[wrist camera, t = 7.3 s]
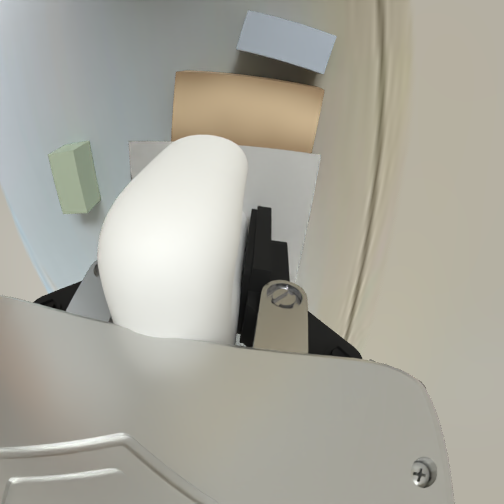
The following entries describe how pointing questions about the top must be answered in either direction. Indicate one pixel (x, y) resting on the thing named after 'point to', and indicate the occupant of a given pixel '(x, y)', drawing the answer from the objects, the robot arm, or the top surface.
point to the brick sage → (75, 177)
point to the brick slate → (286, 41)
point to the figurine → (197, 232)
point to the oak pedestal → (246, 110)
